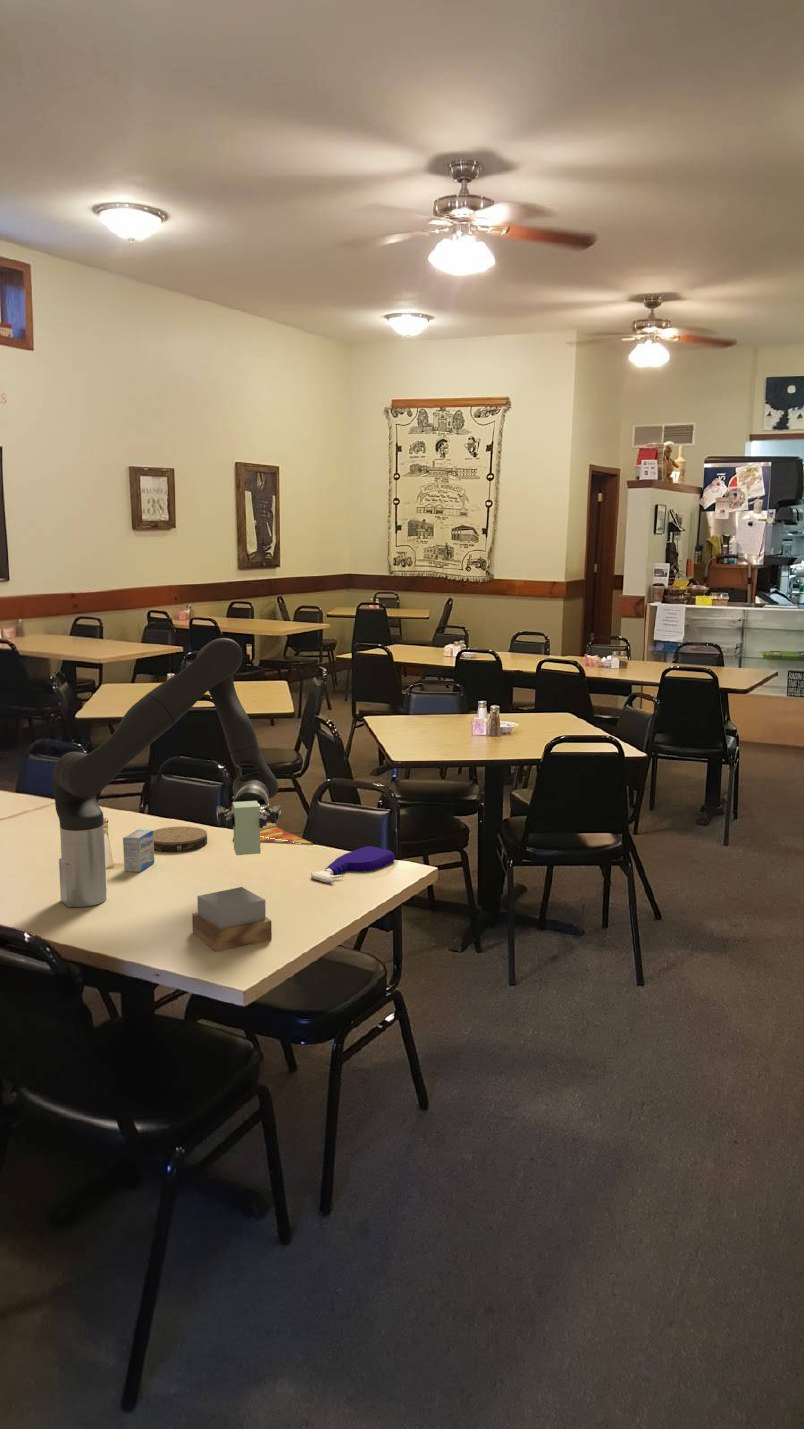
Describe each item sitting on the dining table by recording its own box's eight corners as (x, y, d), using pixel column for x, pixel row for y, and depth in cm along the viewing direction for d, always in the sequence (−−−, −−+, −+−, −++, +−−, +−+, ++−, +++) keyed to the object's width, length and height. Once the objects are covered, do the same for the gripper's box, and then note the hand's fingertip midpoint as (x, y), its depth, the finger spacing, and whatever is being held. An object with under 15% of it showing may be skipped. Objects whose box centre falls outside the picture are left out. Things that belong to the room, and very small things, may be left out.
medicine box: (140, 872, 245) (139, 838, 243) (123, 871, 245) (122, 837, 244) (154, 863, 252) (153, 829, 251) (138, 862, 253) (137, 828, 252)
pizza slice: (260, 856, 260) (260, 848, 260) (222, 836, 278) (222, 829, 278) (312, 846, 270) (312, 839, 269) (272, 828, 287) (272, 821, 287)
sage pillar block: (236, 855, 207) (234, 807, 205) (233, 848, 211) (232, 802, 210) (260, 853, 208) (259, 806, 206) (257, 846, 213) (256, 800, 211)
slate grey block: (220, 929, 196) (219, 909, 196) (197, 914, 204) (197, 895, 204) (265, 919, 202) (265, 899, 202) (241, 905, 210) (241, 886, 210)
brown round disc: (142, 840, 274) (142, 829, 273) (200, 834, 280) (200, 824, 279) (151, 856, 259) (151, 845, 259) (213, 850, 265) (212, 839, 265)
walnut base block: (215, 954, 196) (215, 932, 195) (192, 934, 206) (192, 913, 205) (271, 942, 202) (271, 920, 201) (247, 923, 212) (246, 903, 211)
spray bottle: (365, 844, 261) (301, 868, 242) (399, 851, 255) (335, 877, 235) (365, 855, 262) (301, 880, 242) (399, 863, 255) (335, 889, 236)
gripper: (217, 787, 222) (209, 806, 205) (283, 786, 223) (281, 805, 206) (218, 821, 223) (210, 842, 206) (284, 819, 224) (281, 840, 207)
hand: (246, 823), depth 206 cm, fingers closed on sage pillar block, 5 cm apart
